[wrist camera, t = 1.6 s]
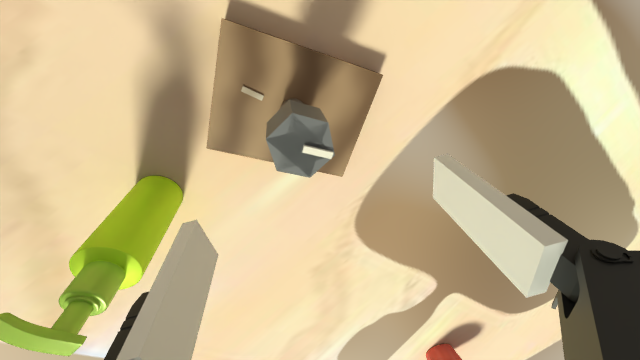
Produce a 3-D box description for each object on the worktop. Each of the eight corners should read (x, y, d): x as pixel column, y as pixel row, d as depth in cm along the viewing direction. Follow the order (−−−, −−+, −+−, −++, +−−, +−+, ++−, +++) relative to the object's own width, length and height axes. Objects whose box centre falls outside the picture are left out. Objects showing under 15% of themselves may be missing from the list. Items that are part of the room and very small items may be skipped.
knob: (261, 147, 25) (259, 168, 21) (272, 95, 23) (272, 108, 19) (318, 159, 27) (326, 182, 23) (334, 112, 25) (346, 128, 21)
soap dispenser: (144, 162, 33) (2, 306, 16) (191, 193, 36) (118, 340, 19) (118, 190, 34) (-38, 351, 17) (166, 217, 37) (76, 376, 20)
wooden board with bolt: (209, 142, 33) (193, 171, 26) (224, 19, 26) (208, 15, 20) (339, 170, 38) (353, 201, 31) (377, 72, 31) (405, 84, 25)
